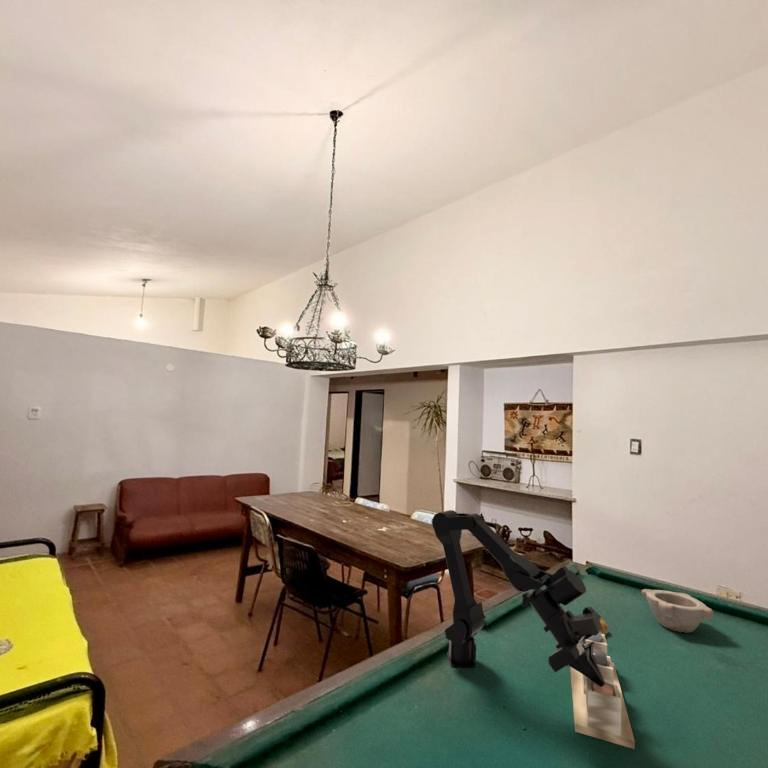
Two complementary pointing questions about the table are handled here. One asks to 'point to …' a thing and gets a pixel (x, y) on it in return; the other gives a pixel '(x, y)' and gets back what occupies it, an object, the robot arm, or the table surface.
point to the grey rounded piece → (600, 657)
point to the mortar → (677, 609)
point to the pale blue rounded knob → (596, 637)
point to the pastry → (604, 627)
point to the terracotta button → (603, 689)
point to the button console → (601, 705)
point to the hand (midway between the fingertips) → (603, 685)
